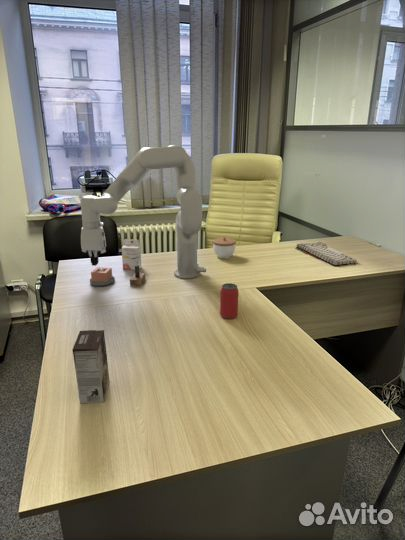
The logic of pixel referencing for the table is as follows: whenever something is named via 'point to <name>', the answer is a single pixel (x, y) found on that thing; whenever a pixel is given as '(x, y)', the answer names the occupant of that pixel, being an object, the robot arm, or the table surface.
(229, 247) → the lidded bowl
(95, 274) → the collar
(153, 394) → the table surface
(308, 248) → the mechanical keyboard
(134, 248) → the ink cartridge box
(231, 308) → the beer can
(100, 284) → the hub
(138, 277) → the stand
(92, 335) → the coffee box
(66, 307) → the table surface
